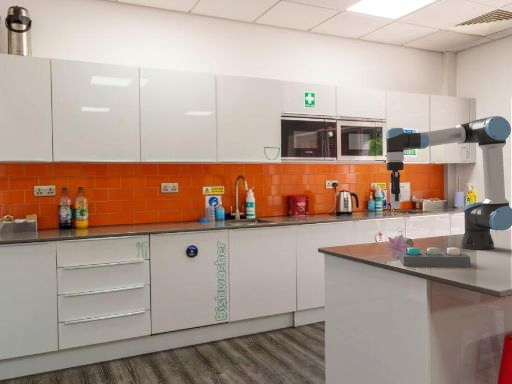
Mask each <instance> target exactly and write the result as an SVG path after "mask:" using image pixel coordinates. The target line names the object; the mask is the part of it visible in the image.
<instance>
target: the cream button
mask: <svg viewBox="0 0 512 384" xmlns="http://www.w3.org/2000/svg"><path fill="white" fill-rule="evenodd" d="M446 252H447V255H448V256H460V252H461V248H459V247H446Z"/></svg>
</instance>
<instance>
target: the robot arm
mask: <svg viewBox="0 0 512 384" xmlns="http://www.w3.org/2000/svg"><path fill="white" fill-rule="evenodd" d="M511 133H512V128H511V123H510V122H509V120H508V119H506V118H505V117H503V116H499V115H495V116H494V115H492V116H488V117H487V116H486V117H483V118H480V119H475V120H472V121H469V122H466V123H462V124H457V125H456V126H454V127H449V128H442V129H436V130H428V131H424V132H405V131H404V128H402V127H391V128H388V129H387V130H386V135H385V136H386V137H385V140H386V154H385V157H386V162H387V163H386V170H387V171H388V172H389V171H391V173H390V175H389V177H390V207H391V208H393V209H395V210H399V209H401V201H400V200H401V195H400V193H401V179H400V177H401V173H400V171H403V170H404V169H405V168H404V167H405V165H404V162H403V161H404V160H405V156H404V154H405V152H404V151H410V150H422V149H423V150H424V149H427V148H429V147H436V146H441V145H449V144H454V143H456V144H460V145H462V144H478V147H479V149H481V152H482V153H481V154H482V169H483V186H484V187H483V188H484V189H483V191H484V199H483V200H482V201H479V202H470V203H469V202H467V203H466V204H465V205H464V207H463V208H464V209H463V212H464V233H463V236H462V239H461V243H460V244H461V245H460V247H461V248H462V249H469V250H481V251H482V250H493V249H495V242H494V239H493V237H492V234H491V230H493V231H495V232H496V231H507V230H509V229H510V228H511V227H512V207H510V201H509V199H507V198H506V187H505V170H504V152H503V151H504V150H503V148H504V147H505V146H506V145H507V139H508V138H509V137H510V135H511Z"/></svg>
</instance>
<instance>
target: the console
mask: <svg viewBox="0 0 512 384" xmlns="http://www.w3.org/2000/svg"><path fill="white" fill-rule="evenodd" d="M399 262H400V263H401V264H402V266H403V267H453V268H454V267H459V268H461V267H468V268H469V267H471V256H470V255H468V254H467V253H464V252H463V251H460V256H448V255H447V251H440V255H427V251H420V255H408V252H400V254H399Z"/></svg>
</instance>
